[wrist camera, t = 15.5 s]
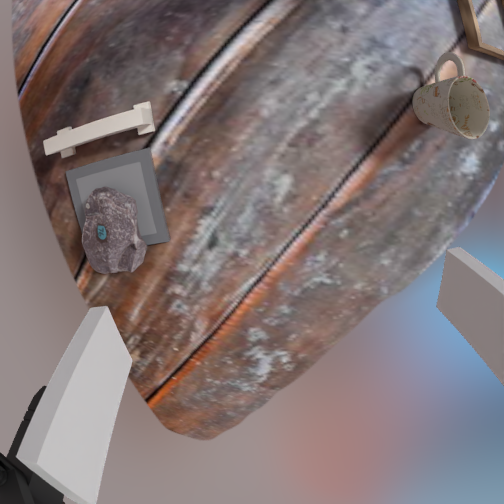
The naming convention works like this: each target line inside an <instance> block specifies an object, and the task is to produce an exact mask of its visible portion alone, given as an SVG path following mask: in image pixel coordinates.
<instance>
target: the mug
mask: <svg viewBox="0 0 504 504" xmlns="http://www.w3.org/2000/svg"><path fill="white" fill-rule="evenodd" d="M448 60H451V61H453V62H454V63H455V64H456V66H457V70H458V76H457V77H454V78H450V79H447V80H443V81H440V71H441V67H442V65H443V64H444V63H445V62H446V61H448ZM435 82H436V83H433V84H430V85H426V86H423V87H421V88H419V89H418V90H416V92H415V93H414V96H413V109H414V112H415V114H416V116H417V117H418V119H419V120H420V121H422V122H423V123H425V124H427V125H430V126H433V127H436V128H439V129H442V130H445V131H448V132H451V133H453V134H456V135H459V136H461V137H464V138H467V139H476V138H479V137H480V136H481V135H482V134H483V133H484V132H485V130H486V128H487V126H488V122H489V105H488V101H487V98H486V95H485V93H484V91H483V89H482V88H481V86H480V85H479V84H478V83H477V82H476V81H475V80H474V79H472V78H470V77H467V76H465V72H464V65H463V62H462V60H461V59H460V58H459V57H458V56H457V55H456V54H454V53H451V52H447V53H444V54H443V55H442V56H441V57H440V58H439V60H438V62H437V65H436V67H435Z"/></svg>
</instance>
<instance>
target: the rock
mask: <svg viewBox="0 0 504 504" xmlns="http://www.w3.org/2000/svg"><path fill="white" fill-rule="evenodd" d="M137 214H138V210H137V206H136V200H135V199H133V198H132V197H130V196H128V195H126V194H124V193H120V192H118V191H117V190H116V189H113V188H109V187H105V186H104V187H102V188H96V189H95V190H93V191H92V193H91V194H90V195H89V196H88V199H87V201H86V207H85V224H84V228H83V235H82V244H83V247H84V249H85V252H86V256H87V258H88V261H89V263H90V265H91V267H92V268H93V269H94V270H95V271H97V272H99V273H103V274H105V273H117V272H118V271H129V272H133V271H134V270H135V269H136V268H137V267H138V266H139V265H140V264H141V263H142V262H143V261H144V255H145V253H146V249H147V245H146V243H145V241H144V240H143V238H142V237H141V234H140V231H139V228H138V222H137Z"/></svg>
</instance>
